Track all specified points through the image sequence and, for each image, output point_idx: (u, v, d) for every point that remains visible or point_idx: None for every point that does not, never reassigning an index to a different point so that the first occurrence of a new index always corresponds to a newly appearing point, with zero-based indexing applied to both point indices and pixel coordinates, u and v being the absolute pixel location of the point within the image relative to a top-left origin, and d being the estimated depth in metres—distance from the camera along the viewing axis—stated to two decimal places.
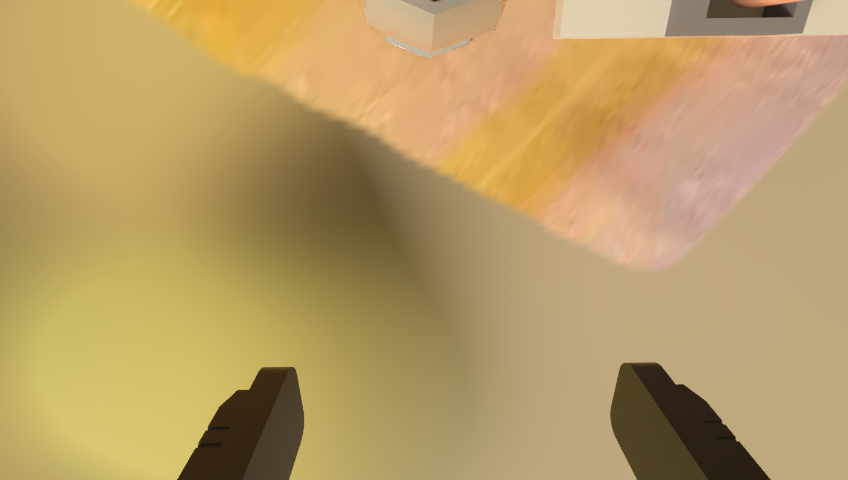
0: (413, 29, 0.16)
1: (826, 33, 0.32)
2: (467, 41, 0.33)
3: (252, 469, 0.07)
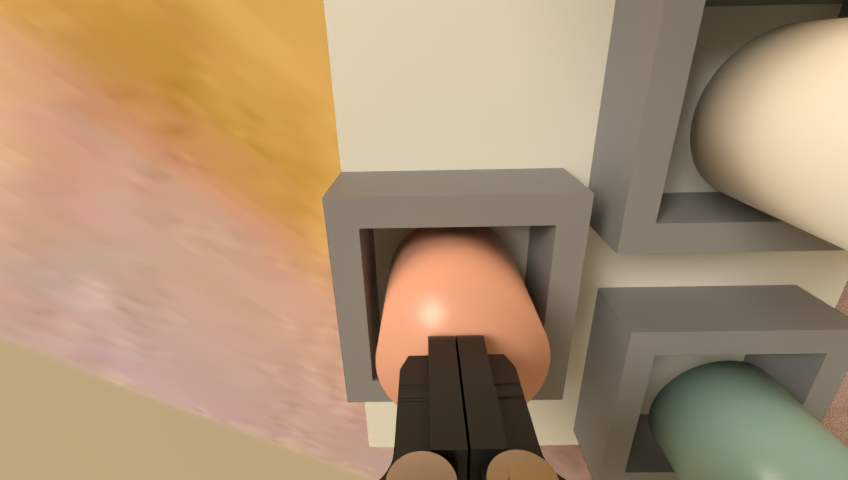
0: None
1: (368, 422, 0.20)
2: None
3: None
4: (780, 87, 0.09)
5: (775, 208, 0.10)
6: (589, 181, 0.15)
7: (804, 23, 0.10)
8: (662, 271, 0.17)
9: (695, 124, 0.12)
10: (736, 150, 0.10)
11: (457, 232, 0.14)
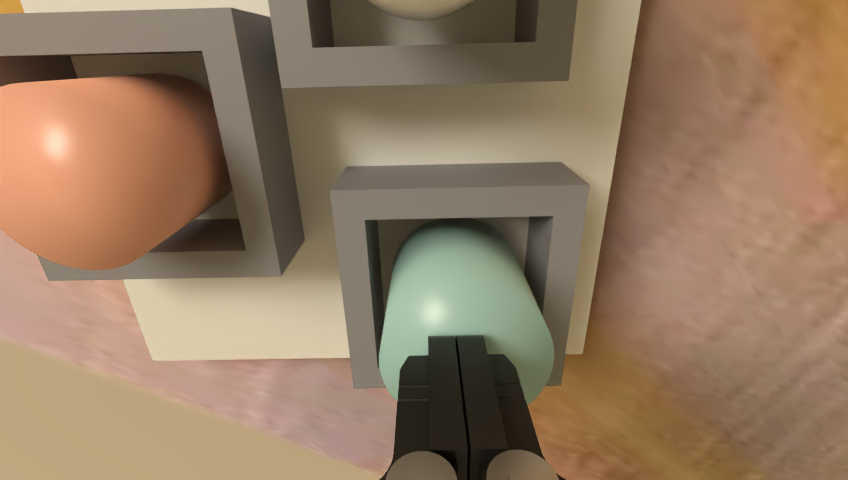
0: None
1: (143, 331, 0.19)
2: None
3: None
4: None
5: None
6: None
7: None
8: (411, 146, 0.15)
9: None
10: None
11: (132, 75, 0.13)
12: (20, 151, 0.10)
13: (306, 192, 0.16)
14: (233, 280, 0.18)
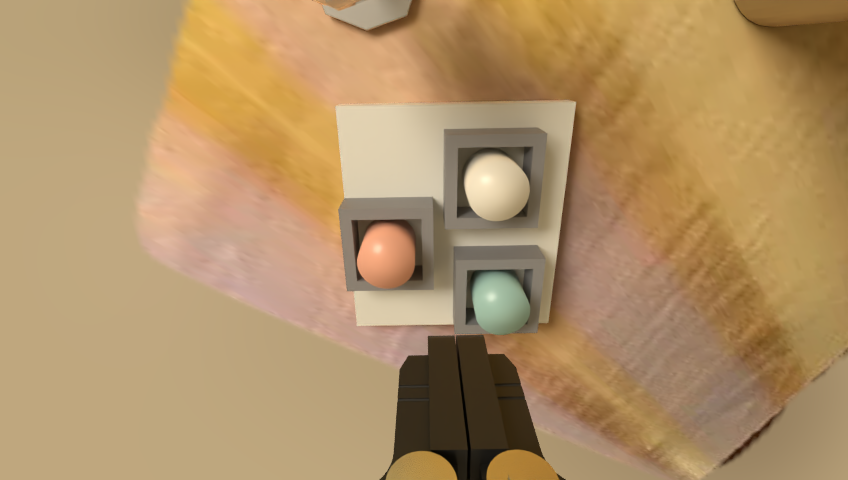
0: None
1: (356, 312, 0.43)
2: (327, 12, 0.33)
3: None
4: (467, 171, 0.34)
5: None
6: (443, 202, 0.38)
7: (484, 150, 0.35)
8: (479, 239, 0.39)
9: (462, 177, 0.36)
10: (464, 187, 0.35)
11: (388, 220, 0.37)
12: (376, 254, 0.34)
13: (436, 255, 0.40)
14: (400, 290, 0.42)
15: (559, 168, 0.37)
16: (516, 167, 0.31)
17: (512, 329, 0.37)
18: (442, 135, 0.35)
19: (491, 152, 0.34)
